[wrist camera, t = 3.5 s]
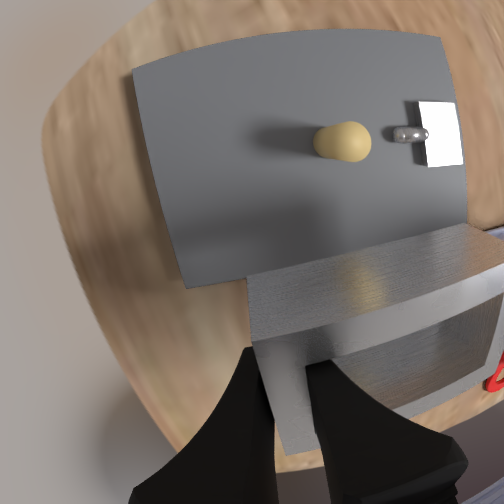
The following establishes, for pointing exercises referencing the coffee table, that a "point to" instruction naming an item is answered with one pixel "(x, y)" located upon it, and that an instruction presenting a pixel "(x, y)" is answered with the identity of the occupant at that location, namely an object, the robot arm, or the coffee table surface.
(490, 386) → the tow hook
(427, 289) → the steel link
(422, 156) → the chain anchor
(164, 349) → the coffee table surface
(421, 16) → the coffee table surface
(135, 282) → the coffee table surface
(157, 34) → the coffee table surface
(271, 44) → the board
